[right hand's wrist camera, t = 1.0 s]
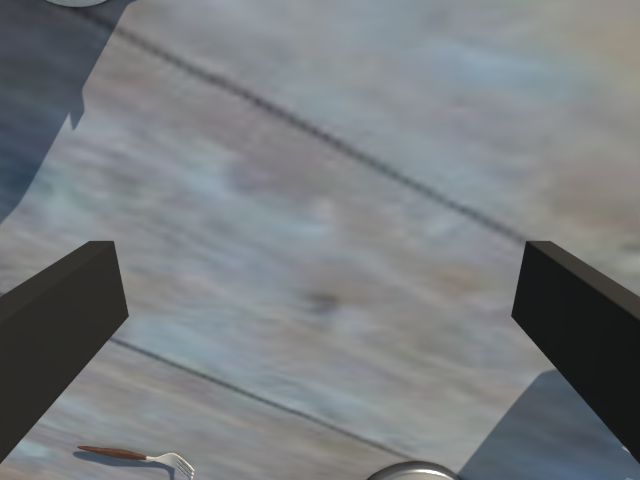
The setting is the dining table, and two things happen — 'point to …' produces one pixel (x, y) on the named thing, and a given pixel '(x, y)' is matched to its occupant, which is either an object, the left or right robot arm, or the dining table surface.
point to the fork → (144, 458)
